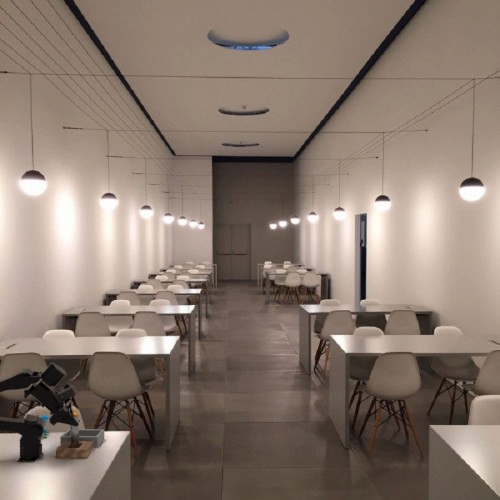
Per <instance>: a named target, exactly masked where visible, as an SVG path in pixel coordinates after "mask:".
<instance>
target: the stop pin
mask: <svg viewBox="0 0 500 500" xmlns="http://www.w3.org/2000/svg"><path fill="white" fill-rule="evenodd" d="M70 414H71V415H72V416H73V417H74V418H75V420H76V421H77V422H78V423H79V425H78V426H77V427H76V426H72V425H69V427H70V428H69V429H70V440H71V444H77V443H79V429H80V422H79V420H80V411H79V410H73V411H71V412H70Z"/></svg>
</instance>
